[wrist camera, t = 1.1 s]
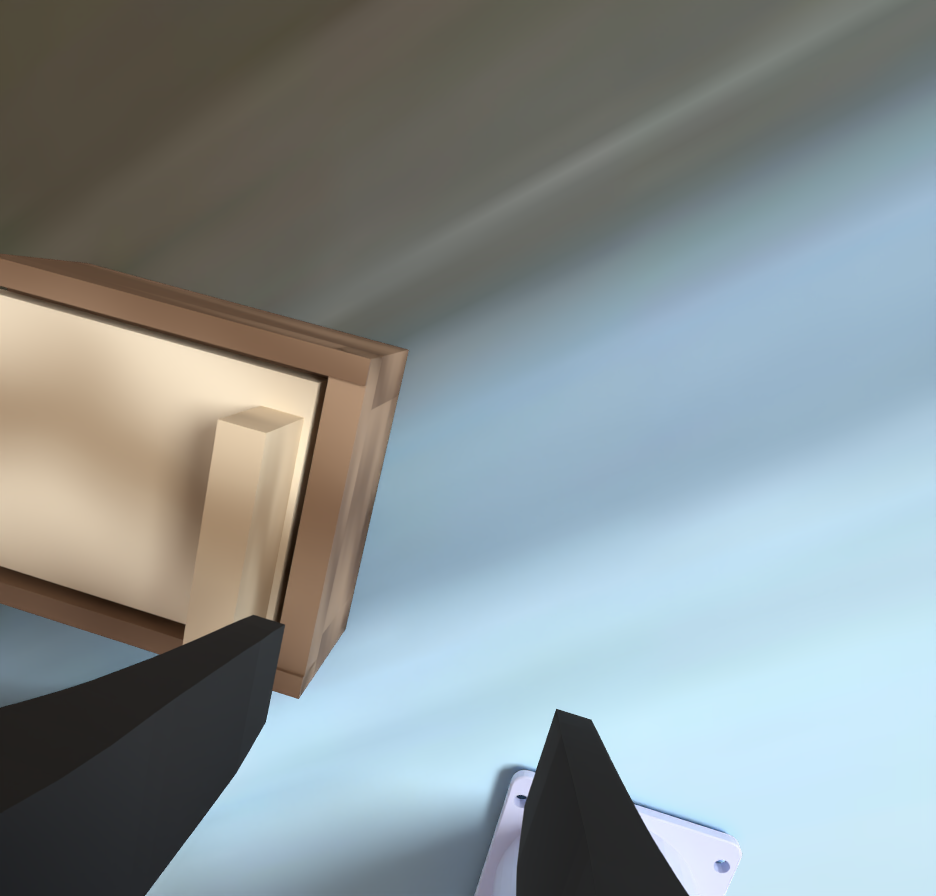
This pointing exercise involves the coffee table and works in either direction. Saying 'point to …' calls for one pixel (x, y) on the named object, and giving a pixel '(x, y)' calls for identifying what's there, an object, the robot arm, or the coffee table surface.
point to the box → (332, 470)
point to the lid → (150, 465)
